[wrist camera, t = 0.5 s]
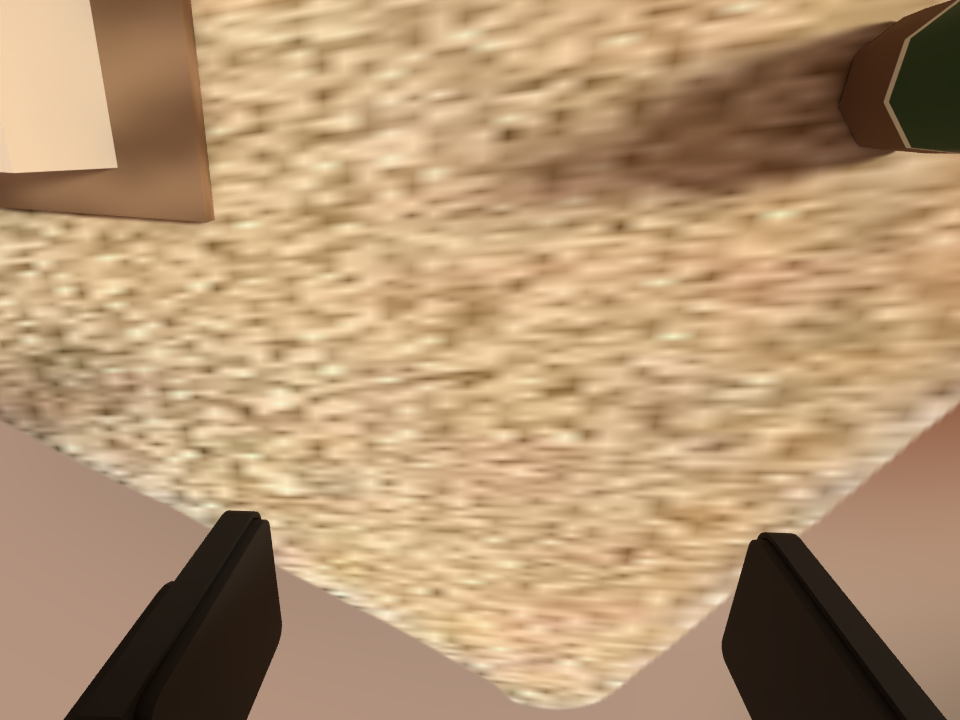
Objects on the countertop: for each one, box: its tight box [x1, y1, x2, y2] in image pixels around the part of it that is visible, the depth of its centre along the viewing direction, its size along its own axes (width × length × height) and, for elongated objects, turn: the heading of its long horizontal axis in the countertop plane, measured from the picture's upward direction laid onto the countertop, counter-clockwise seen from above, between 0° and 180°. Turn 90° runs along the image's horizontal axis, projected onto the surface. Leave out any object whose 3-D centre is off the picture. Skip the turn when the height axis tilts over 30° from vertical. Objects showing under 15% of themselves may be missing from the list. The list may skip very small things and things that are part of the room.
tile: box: [0, 0, 118, 173], centre depth 28 cm, size 10×2×8 cm, turn 176°
